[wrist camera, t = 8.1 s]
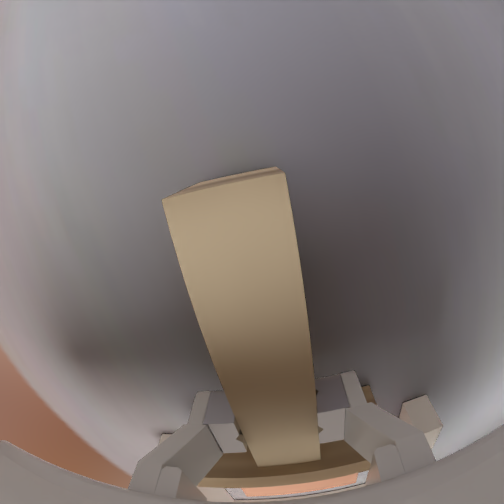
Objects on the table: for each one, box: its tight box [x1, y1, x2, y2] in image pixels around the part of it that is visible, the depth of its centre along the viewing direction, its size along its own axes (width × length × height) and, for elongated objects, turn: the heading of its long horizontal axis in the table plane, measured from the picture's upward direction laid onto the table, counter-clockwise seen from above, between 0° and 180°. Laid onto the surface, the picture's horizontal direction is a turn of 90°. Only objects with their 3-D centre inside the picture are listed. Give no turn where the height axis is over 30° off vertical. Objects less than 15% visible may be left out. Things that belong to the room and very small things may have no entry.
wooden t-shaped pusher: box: [162, 167, 377, 488], centre depth 8 cm, size 11×8×4 cm
